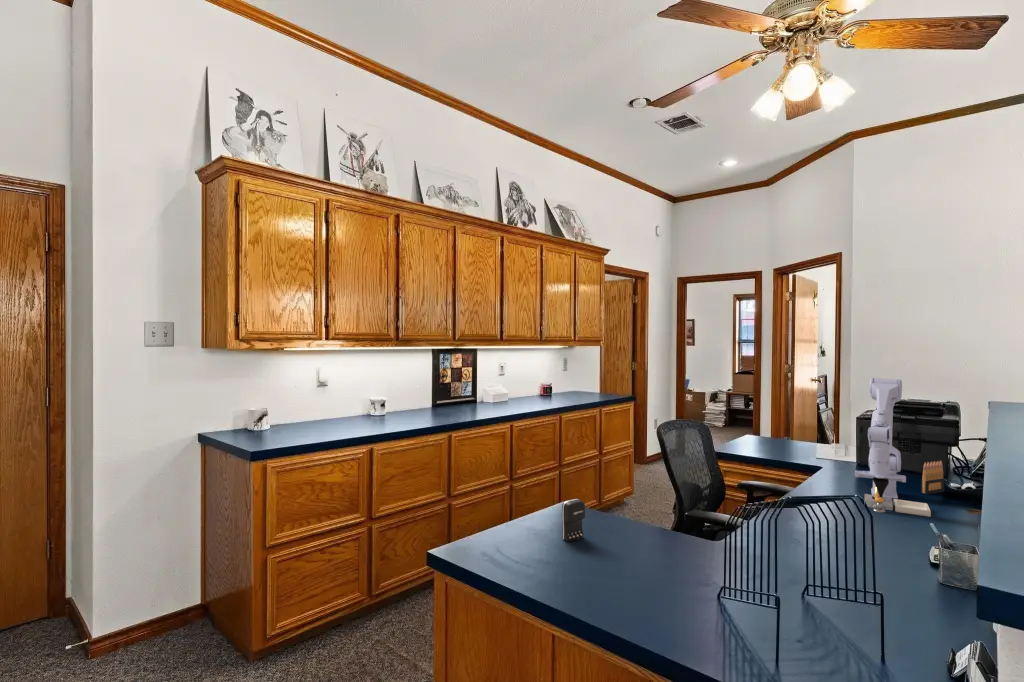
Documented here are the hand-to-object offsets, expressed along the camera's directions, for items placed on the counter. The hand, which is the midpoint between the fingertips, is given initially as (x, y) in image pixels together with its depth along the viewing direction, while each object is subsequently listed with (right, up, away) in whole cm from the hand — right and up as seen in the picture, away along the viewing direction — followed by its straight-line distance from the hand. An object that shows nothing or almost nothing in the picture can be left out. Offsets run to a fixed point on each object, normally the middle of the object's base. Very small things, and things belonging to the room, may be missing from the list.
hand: (879, 499), depth 188 cm
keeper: (-1, 0, 0) cm, 1 cm away
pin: (+2, -3, +4) cm, 5 cm away
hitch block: (+1, -3, +2) cm, 4 cm away
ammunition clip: (+34, -3, +20) cm, 39 cm away
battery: (-110, -4, -27) cm, 113 cm away
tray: (+10, -3, -1) cm, 11 cm away
